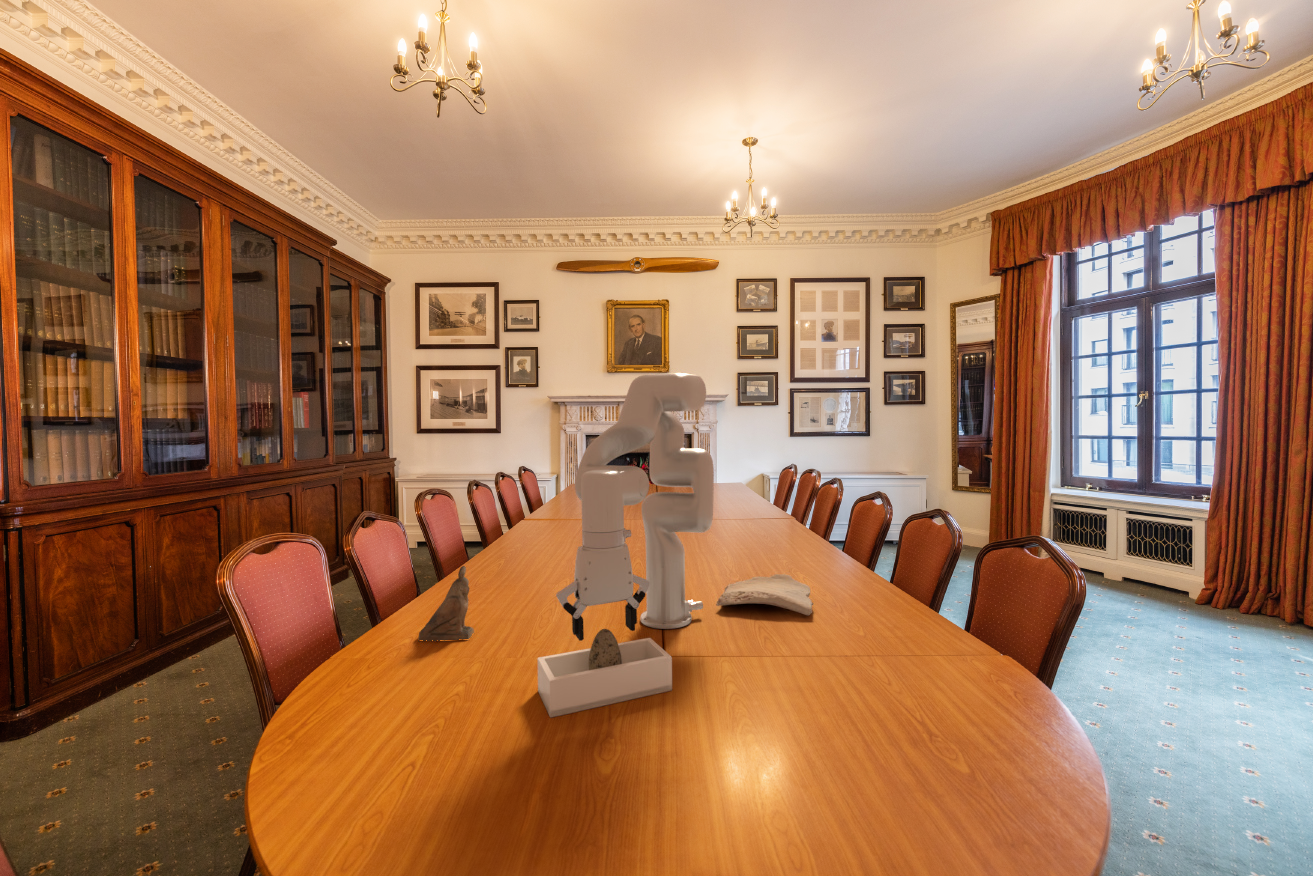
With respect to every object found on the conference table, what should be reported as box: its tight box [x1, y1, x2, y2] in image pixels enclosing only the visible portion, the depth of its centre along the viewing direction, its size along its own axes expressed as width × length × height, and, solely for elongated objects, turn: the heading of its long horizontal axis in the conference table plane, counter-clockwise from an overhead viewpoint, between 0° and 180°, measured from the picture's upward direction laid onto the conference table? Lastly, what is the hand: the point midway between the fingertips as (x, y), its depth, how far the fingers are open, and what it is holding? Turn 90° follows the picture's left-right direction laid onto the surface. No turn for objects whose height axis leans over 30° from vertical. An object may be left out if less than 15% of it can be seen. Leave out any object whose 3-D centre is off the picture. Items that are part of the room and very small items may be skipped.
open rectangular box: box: [537, 637, 673, 718], centre depth 96 cm, size 22×10×6 cm, turn 114°
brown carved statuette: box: [417, 565, 475, 642], centre depth 123 cm, size 12×6×18 cm, turn 87°
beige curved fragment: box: [715, 573, 814, 616], centre depth 144 cm, size 24×8×20 cm
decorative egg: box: [588, 628, 622, 670], centre depth 96 cm, size 6×6×10 cm
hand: (605, 633), depth 97 cm, fingers open, 9 cm apart
